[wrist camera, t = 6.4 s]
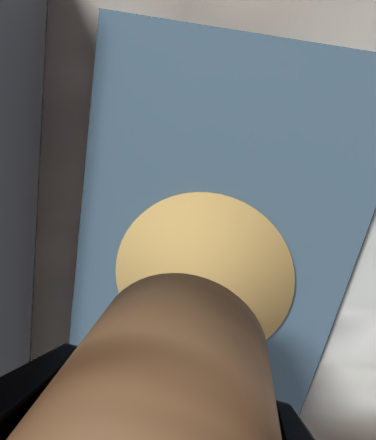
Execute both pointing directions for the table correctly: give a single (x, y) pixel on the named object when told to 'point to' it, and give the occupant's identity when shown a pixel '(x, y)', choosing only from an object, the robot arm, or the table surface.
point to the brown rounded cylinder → (163, 370)
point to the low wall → (19, 170)
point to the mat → (228, 176)
